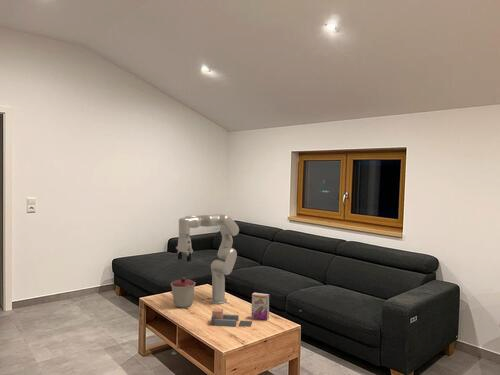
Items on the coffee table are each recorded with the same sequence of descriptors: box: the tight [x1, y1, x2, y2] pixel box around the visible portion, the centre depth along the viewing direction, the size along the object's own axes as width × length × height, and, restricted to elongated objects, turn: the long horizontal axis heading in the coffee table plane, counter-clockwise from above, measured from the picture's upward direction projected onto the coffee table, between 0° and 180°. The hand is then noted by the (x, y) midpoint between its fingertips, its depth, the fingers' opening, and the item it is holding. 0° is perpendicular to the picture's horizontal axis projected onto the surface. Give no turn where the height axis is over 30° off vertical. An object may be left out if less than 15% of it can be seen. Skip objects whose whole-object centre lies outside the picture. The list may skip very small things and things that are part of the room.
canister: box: [170, 276, 196, 308], centre depth 287 cm, size 18×18×21 cm
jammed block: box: [211, 307, 224, 319], centre depth 256 cm, size 6×6×8 cm
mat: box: [238, 320, 253, 328], centre depth 254 cm, size 9×8×1 cm
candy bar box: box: [251, 292, 270, 321], centre depth 263 cm, size 11×5×16 cm, turn 71°
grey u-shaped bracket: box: [210, 313, 240, 327], centre depth 255 cm, size 11×16×6 cm
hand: (184, 260), depth 271 cm, fingers open, 9 cm apart
